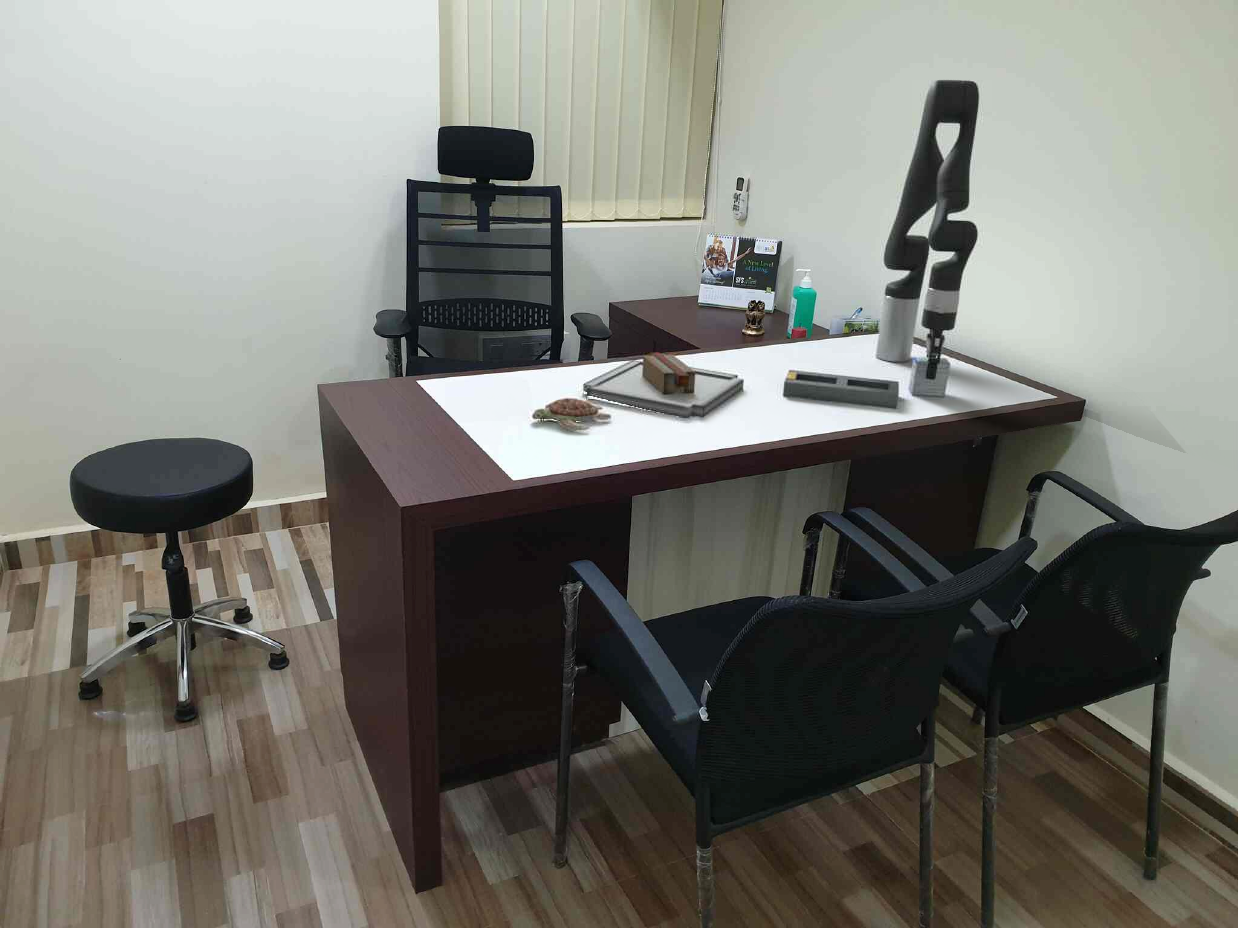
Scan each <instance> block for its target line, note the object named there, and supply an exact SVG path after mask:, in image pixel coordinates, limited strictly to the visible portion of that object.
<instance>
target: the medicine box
mask: <svg viewBox="0 0 1238 928" xmlns="http://www.w3.org/2000/svg"><path fill="white" fill-rule="evenodd" d="M931 358H932V357H931ZM927 360H928V357H926V356H913V358H912V364H911V365H912V366H911V372H910V379H909V383H908V384H909V385H908V391H909V393H910V395H911V396H919V397H920V396H923V397H942V398H945V396H946V392H947V391H946V390H947V385H948V380H949V373H950V369H951V363H950V361H949V360H948V359H947V358H945V357H940V362H939V364H938V366H937V372H936V378H935V379H934V380H930V379H926V371H927V365H928V362H927Z"/></svg>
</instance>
